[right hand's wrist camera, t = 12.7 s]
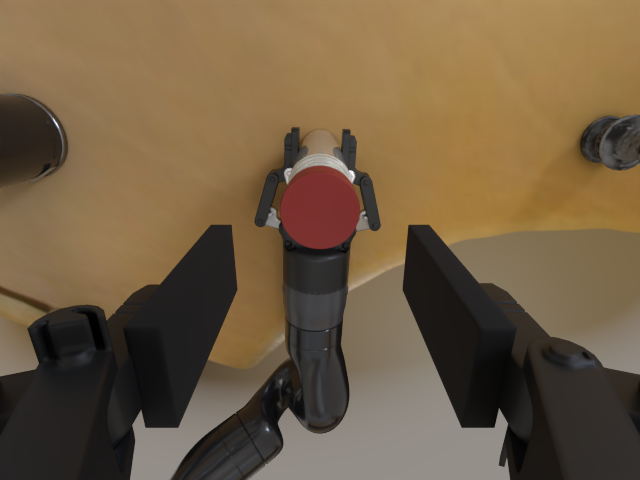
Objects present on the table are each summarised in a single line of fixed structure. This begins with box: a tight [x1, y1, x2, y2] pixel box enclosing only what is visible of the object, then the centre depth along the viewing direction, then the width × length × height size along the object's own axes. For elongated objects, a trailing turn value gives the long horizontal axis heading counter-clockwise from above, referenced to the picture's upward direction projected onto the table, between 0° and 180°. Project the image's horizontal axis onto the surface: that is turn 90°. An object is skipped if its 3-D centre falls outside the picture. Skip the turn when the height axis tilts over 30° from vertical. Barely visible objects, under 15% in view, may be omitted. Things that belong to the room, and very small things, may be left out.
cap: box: [280, 166, 360, 249], centre depth 21 cm, size 4×4×2 cm
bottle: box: [288, 129, 352, 183], centre depth 32 cm, size 4×4×26 cm
